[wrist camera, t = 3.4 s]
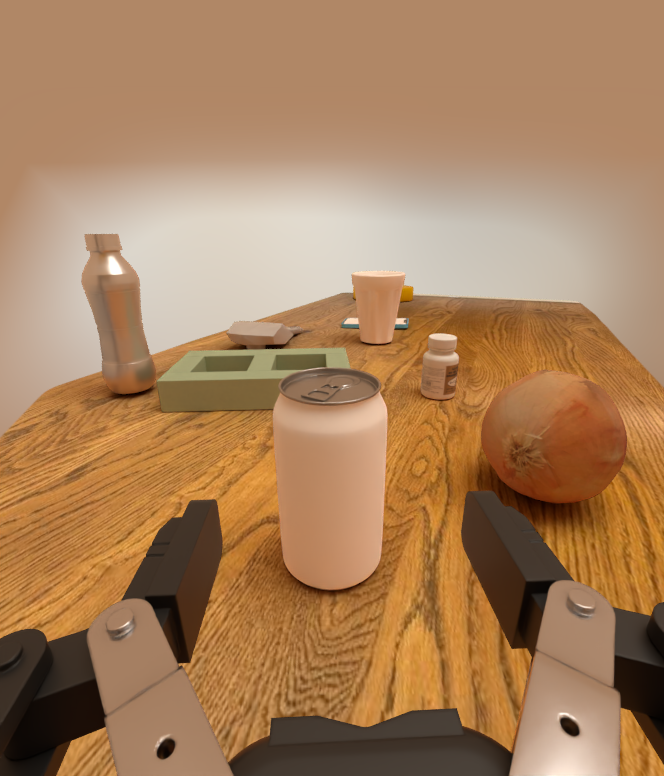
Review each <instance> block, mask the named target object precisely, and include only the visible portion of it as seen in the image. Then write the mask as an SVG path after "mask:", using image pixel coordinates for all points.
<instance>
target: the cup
mask: <svg viewBox="0 0 664 776" xmlns="http://www.w3.org/2000/svg"><path fill="white" fill-rule="evenodd" d="M404 280H405V273H403V272H396V271H362V272H354V273H353V274H352V283H353V286H354V288H355V296H356V305H357V313H358V322H359V330H360V338H361V339H360V340H361V341H362V342H366V343H372V344H381V343H388V342H391V341H392V338H393V333H394V328H395V323H396V318H397V313H398V308H399V302H400V297H401V292H402V287H403V285H404Z"/></svg>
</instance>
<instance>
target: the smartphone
mask: <svg viewBox="0 0 664 776" xmlns="http://www.w3.org/2000/svg"><path fill="white" fill-rule="evenodd" d="M342 327H343V328H359V322H358V318H346V319H345V320H344V321H343V322H342ZM395 328H408V318H396V323H395Z"/></svg>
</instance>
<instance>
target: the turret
mask: <svg viewBox="0 0 664 776" xmlns="http://www.w3.org/2000/svg"><path fill="white" fill-rule="evenodd" d="M302 331H303V328H300V327H299V326H298V327H296V326H294V327H286V326H285V325H284V324H281V323H265V322H249V321H239V322H234V324H233V325H232V326H231V327H230V329H229V330H228V331H227V335H228V336H229V338H230V339H231V341H233V342H235V343H237V344H241V345H246V348H247V349H253V350H258V349H265V348H266V345H270V344H285V343H286V342H287V341H288V340H289V339H290V338H291V337H292V336H293V334H299V333H301V332H302Z"/></svg>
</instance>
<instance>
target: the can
mask: <svg viewBox="0 0 664 776" xmlns="http://www.w3.org/2000/svg"><path fill="white" fill-rule="evenodd" d="M278 388H279V391H280V394H279V397H278V399H277V401H276V404H275V406H274V409H273V430H274V446H275V461H276V475H277V489H278V503H279V517H280V530H281V543H282V553H283V559H284V563H285V565H286V567H287V569H288V570H289V572H290V573H291V574H292V575H293V576H294V577H295V578H296V579H298V580H299V581H301V582H303V583H304V584H306V585H308V586H311V587H313V588H316V589H321V590H342V589H346V588H350V587H352V586H355V585H357V584H358V583H360V582H362V581H364V580H365V579H367V578H368V577H369V576H370V575H371V574H372V573H373V572H374V571H375V569H376V568H377V566H378V564H379V561H380V557H381V549H382V532H383V512H384V490H385V468H386V444H387V408H386V405H385V402H384V400H383V398H382V396H381V394H380V389H381V383H380V381H379V379H378V378H376V377H375V376H373V375H372V374H369V373H367V372H364V371H360V370H356V369H350V368H340V367H322V368H312V369H306V370H302V371H298V372H295V373H292V374H290V375H288V376H286V377H284V378H283V379H282V380H281V381H280V382H279V385H278Z"/></svg>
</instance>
